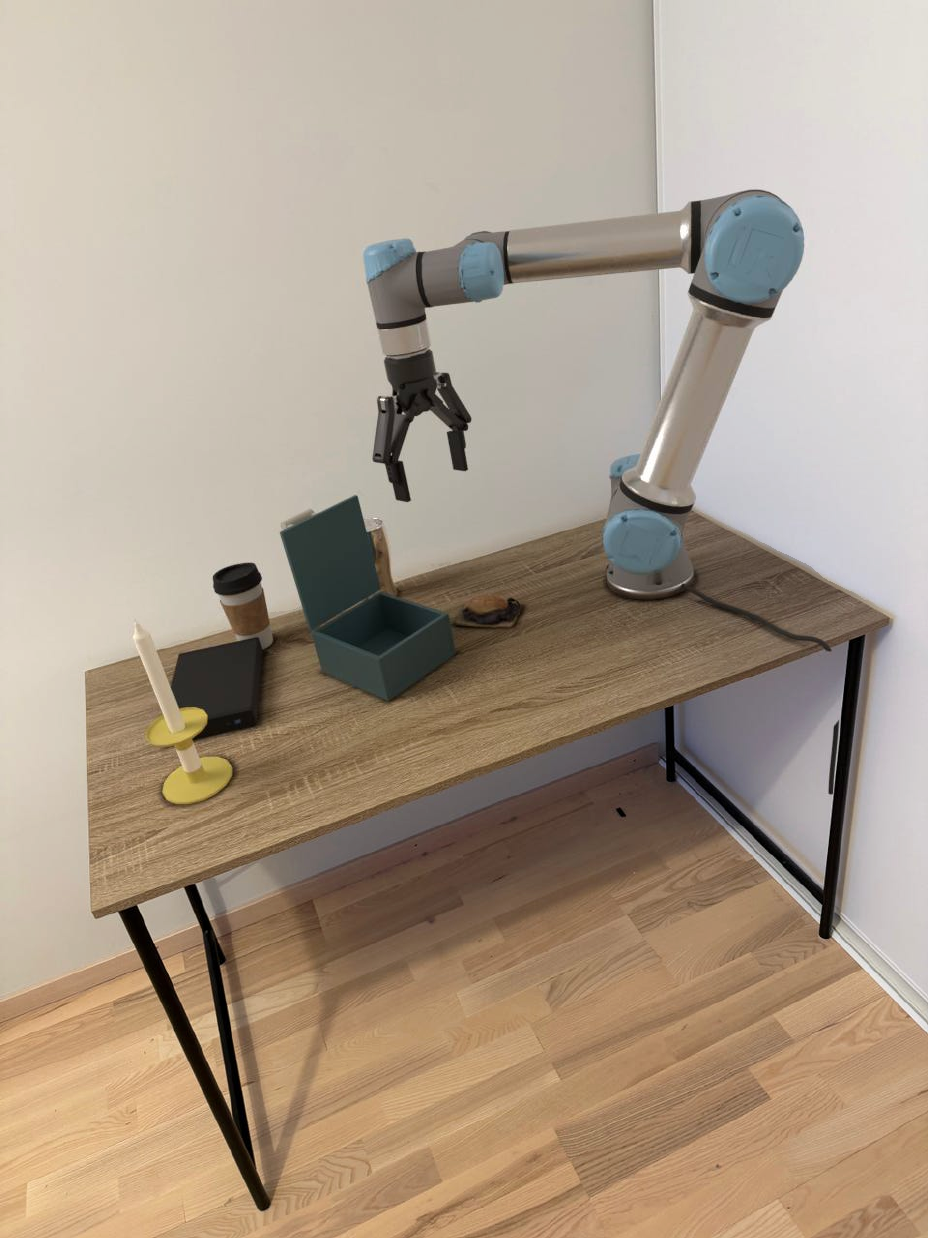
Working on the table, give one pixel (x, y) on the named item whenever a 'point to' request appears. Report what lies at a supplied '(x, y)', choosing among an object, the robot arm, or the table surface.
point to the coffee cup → (244, 602)
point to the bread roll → (489, 612)
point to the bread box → (384, 644)
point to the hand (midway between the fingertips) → (432, 484)
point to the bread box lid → (330, 559)
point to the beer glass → (381, 554)
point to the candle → (180, 735)
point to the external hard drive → (221, 684)
